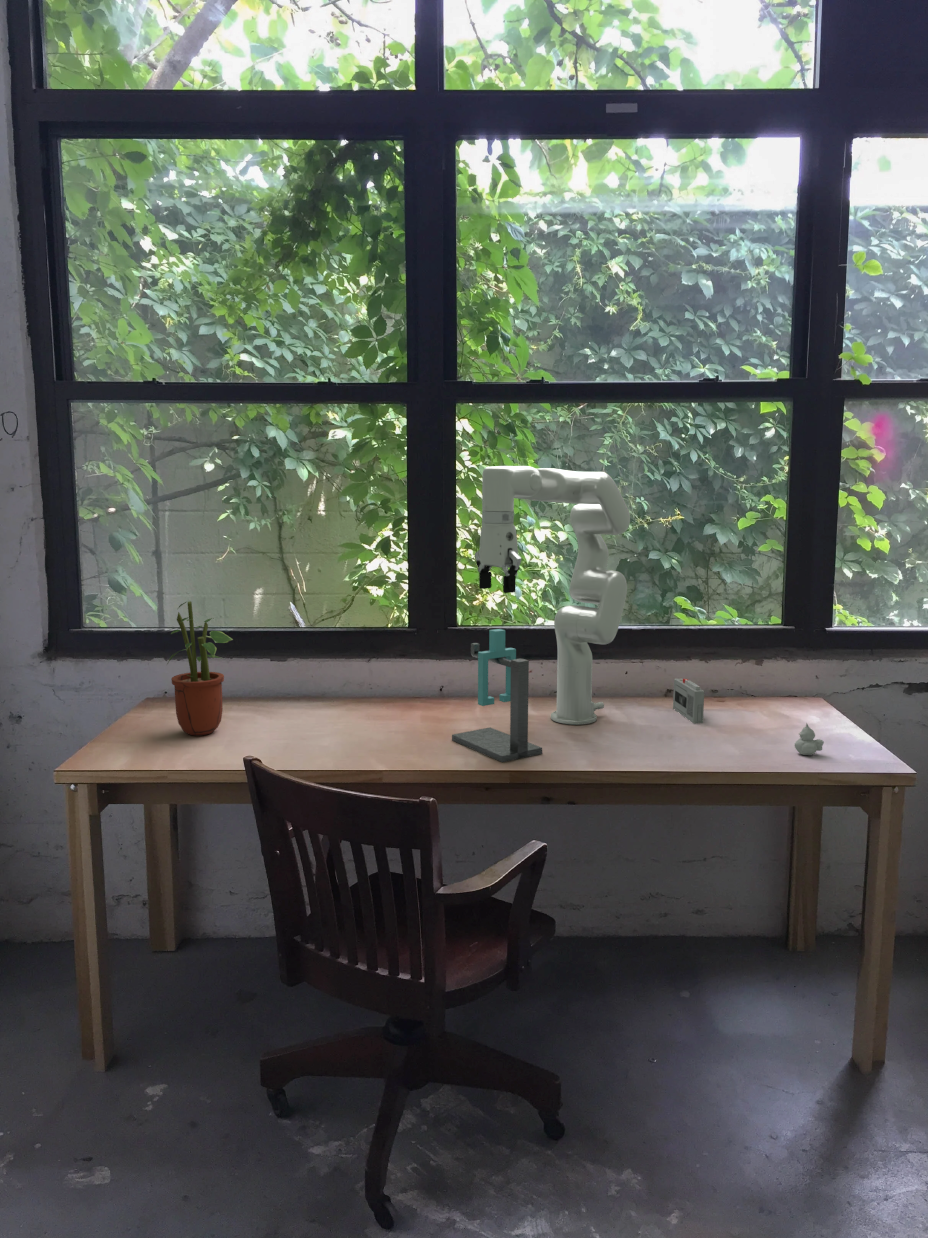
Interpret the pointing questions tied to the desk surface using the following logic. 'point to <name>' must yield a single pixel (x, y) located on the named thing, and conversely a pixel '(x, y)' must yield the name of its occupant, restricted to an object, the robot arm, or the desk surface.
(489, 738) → the hook stand
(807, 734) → the rubber duck
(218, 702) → the potted plant
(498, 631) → the teal link
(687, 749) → the desk surface
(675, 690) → the cassette player
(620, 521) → the robot arm
